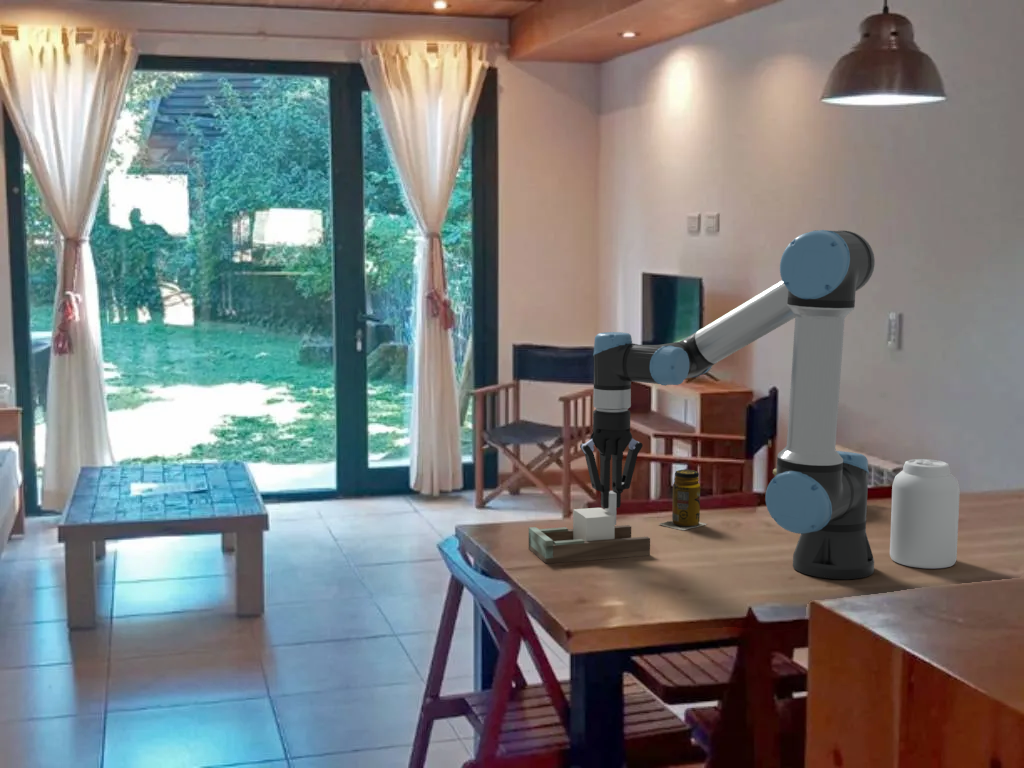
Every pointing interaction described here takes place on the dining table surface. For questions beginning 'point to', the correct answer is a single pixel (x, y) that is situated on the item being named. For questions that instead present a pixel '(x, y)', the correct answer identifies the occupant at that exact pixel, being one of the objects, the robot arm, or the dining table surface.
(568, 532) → the walnut chute
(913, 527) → the can
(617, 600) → the dining table surface
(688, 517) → the condiment
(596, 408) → the robot arm
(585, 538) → the cream block
